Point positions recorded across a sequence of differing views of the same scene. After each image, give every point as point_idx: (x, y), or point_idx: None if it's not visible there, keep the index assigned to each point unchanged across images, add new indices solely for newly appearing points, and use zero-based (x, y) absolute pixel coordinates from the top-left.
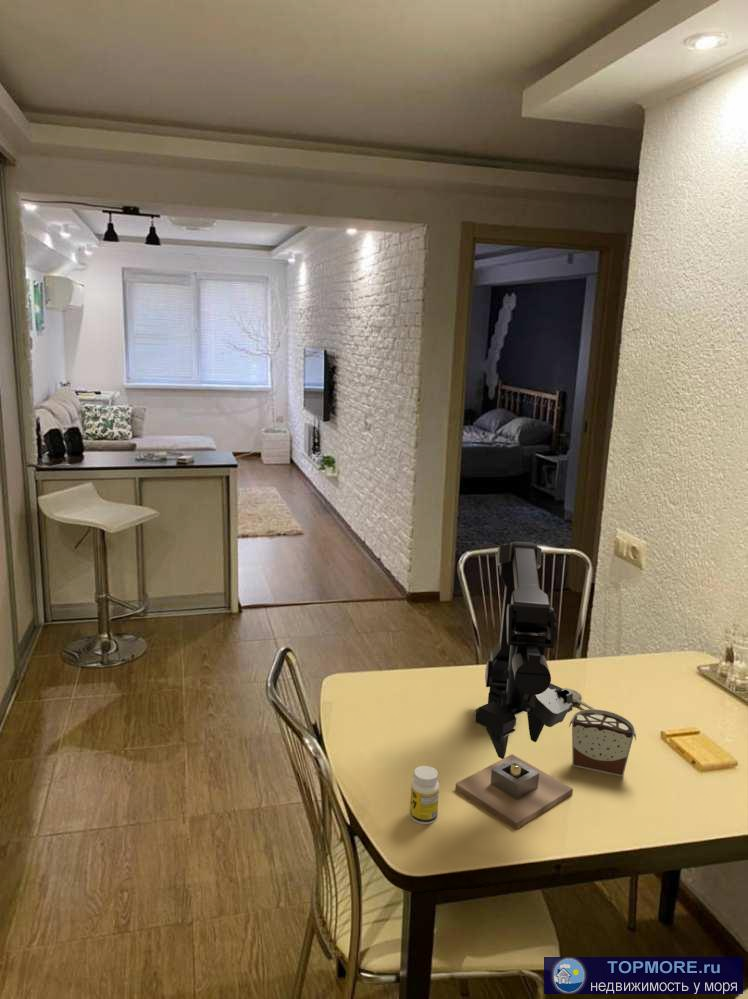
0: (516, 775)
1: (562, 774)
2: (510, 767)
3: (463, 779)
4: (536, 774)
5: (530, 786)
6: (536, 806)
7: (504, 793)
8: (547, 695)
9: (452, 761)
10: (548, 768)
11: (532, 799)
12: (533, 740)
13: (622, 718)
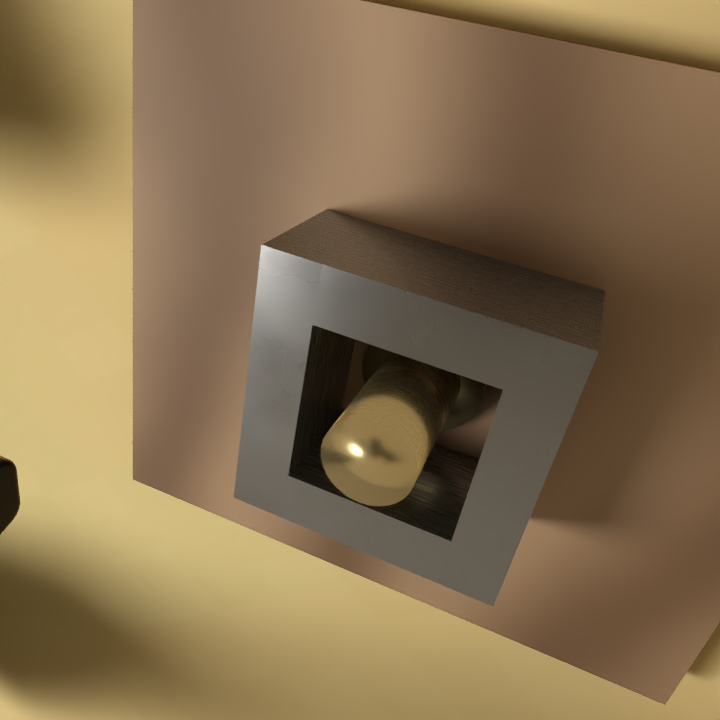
0: (425, 408)
1: (40, 144)
2: None
3: (583, 669)
4: (301, 258)
5: (410, 253)
6: (591, 100)
7: None
8: None
9: (398, 710)
10: (61, 248)
11: (507, 178)
12: (7, 489)
13: None
